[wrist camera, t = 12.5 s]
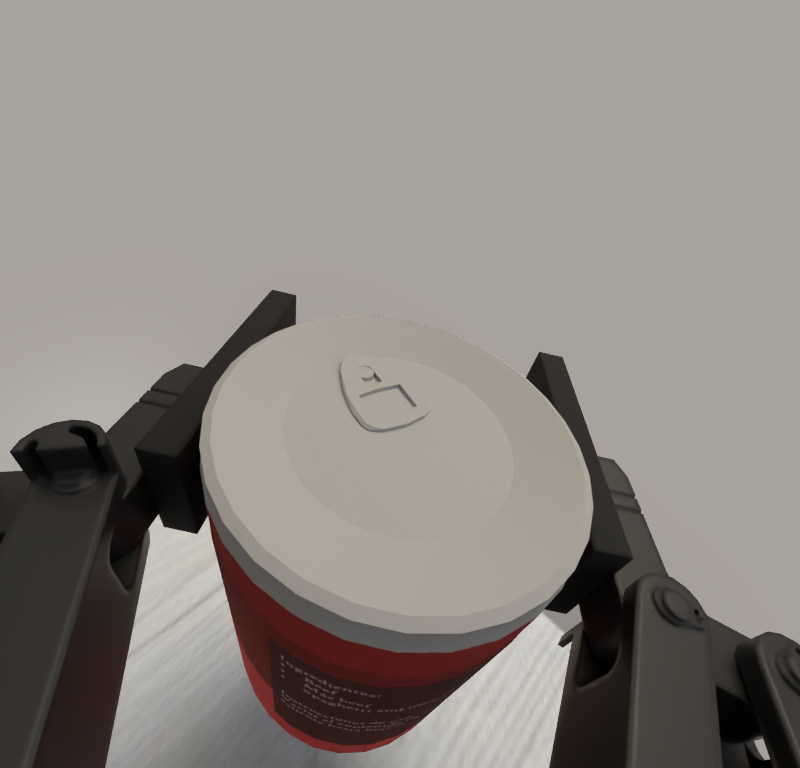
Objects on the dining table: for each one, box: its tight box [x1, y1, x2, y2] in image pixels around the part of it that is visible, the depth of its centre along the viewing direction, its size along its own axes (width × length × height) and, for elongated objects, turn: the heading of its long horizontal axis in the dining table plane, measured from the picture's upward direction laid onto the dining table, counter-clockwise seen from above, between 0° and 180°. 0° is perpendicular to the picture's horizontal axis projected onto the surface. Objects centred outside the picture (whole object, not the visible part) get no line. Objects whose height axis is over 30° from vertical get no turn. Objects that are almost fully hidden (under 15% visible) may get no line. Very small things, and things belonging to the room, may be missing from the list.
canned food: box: [199, 316, 593, 753], centre depth 11 cm, size 8×8×11 cm
